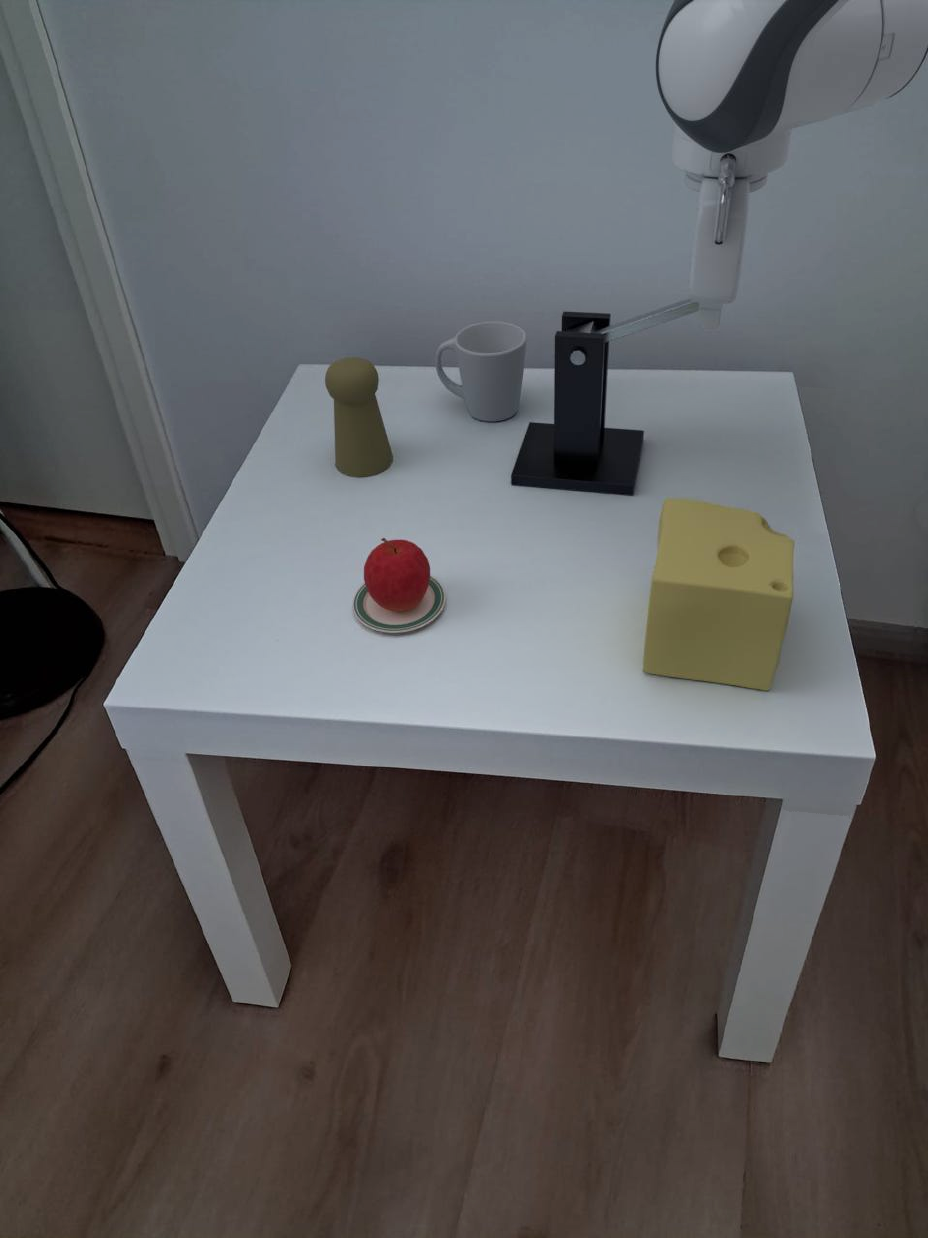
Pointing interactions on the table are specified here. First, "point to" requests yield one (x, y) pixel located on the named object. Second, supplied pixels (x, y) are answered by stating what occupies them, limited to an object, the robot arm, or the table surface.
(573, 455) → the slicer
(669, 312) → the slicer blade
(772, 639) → the cheese
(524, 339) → the cup
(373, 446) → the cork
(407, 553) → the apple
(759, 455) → the table surface
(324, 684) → the table surface
